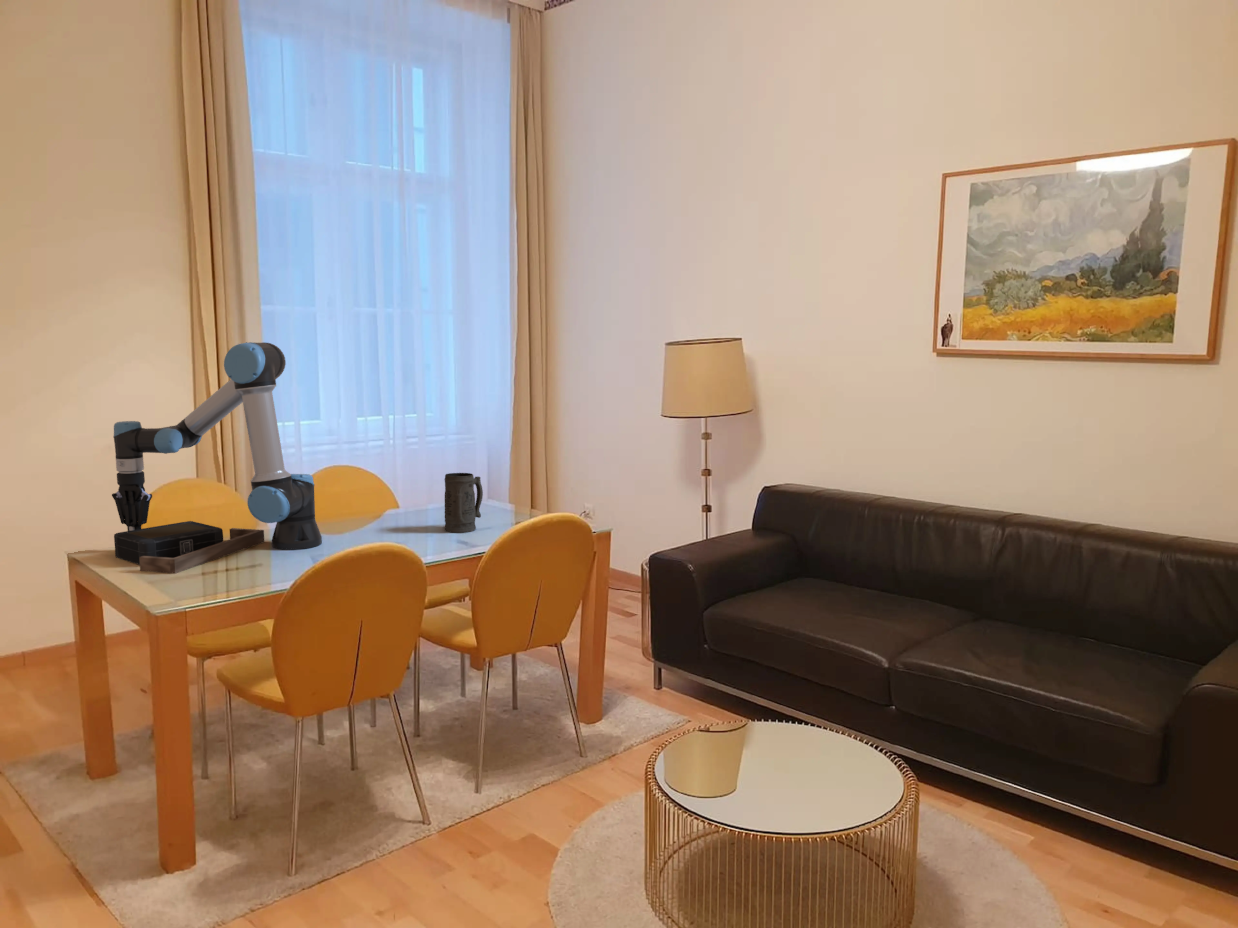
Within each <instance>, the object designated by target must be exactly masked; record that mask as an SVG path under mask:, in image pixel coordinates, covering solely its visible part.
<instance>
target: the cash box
mask: <svg viewBox="0 0 1238 928" xmlns="http://www.w3.org/2000/svg"><path fill="white" fill-rule="evenodd" d="M113 540H114V555H115V558H117V559H120V560H123V561H127V562H129V563H133V564H136V565H139V566H140V558H139V557H141V556H153V557H167V558H175V557H178V556H181V555H184V554H187V553H190V552H193V551H196V550H199V549H202V548H205V547H208V546H211V545H214V544H218V543H221V542H224V532H223V528H221V527H219V526H218V527H217V526H214V525H211V524H205V523H202V522H197V521H193V520H187V521H181V522H176V523H175V522H173V523H168V524H163V525H157V526H150V527H145V528H141V529H137V530H131V531H128V530H126V531H121V532H119V531H118V532H116V533H114V534H113Z"/></svg>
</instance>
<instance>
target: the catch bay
mask: <svg viewBox="0 0 1238 928" xmlns="http://www.w3.org/2000/svg"><path fill="white" fill-rule="evenodd" d="M262 543H263V544H264V543H265V529H255V528H254V529H252V528H238V527H237V528H236V527H232V528H229V539H227V540H223V542H221V543H218V544H214V545H211V546H208V547H205V548H202V549H199V550H196V551H193V552H190V553H187V554H184V555H181V556H178V557H175V558H167V557H153V556H141V557H139V558H140V565H139V569H140V571H141V572H152V573H165V574H166V573H167V574H177V573H182V572H184V571H186V570H190V569H191V568H195V567H198V566H200V565H205V563H209V562H212V561H215V560H217V559H220V558H223V557H225V556H228V555H232V554H235V553H237V552H240V551H243V550H247V549H248V548H252V547H254V546H257V545H260V544H262Z"/></svg>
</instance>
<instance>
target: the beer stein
mask: <svg viewBox="0 0 1238 928" xmlns="http://www.w3.org/2000/svg"><path fill="white" fill-rule="evenodd" d="M482 485H483V484H482V483H481V477H480V476H475V477H474V474H473V473H470V472H453V473H452V472H451V473H449V472H448V473H446V474H445V475H444V523H445V524H444V531H445V532H448V533H454V534H461V533H465V534H466V533H471V532H474V531H475V530H477V527H476V518H478V519H479V518H481V516H482V515H481V512H480V507H481V504H482V501H483V496H484V494H483V493H484V492H483V491H484V490H483V486H482ZM474 486H475V487H476V493H475V487H474Z"/></svg>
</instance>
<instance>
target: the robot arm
mask: <svg viewBox="0 0 1238 928" xmlns="http://www.w3.org/2000/svg"><path fill="white" fill-rule="evenodd" d="M286 365H287V363H286V357H285V354H284V352H283V351H282V350H281V349H280V347H278V346H277V345H275V344H273V343H270V342H253V341H252V342H251V341H250V342H243V343H242V342H241V343H237V344H236V345H234V346H232V347H231V348H230V349H229V350H227V352H226V353H225V356H224V359H223V368H224V371H225V374H226V376H227V377H228V378H230V379H229V380H228V381H227V382H226V383H225V384H223V385H222V386H221V387H220V388H219V389H218V390H216V391H215V392H214V393H212V395H211V396H210V397H207V399H206V400H204V401H203V402H202V403H201V404H199V406H197V407H196V408H195V409H194V410H193V411H191V412H190V413H189V414H188V415H186V417H184V418H183V419H182V420H181V421H180V422H178V423H177V424H175V425H169V426H163V427H159V428H158V427H157V428H152V427H151V428H150V427H149V428H147V427H146V428H144V427H142V424H141V422H140V421H138V420H137V421H136V420H124V421H117V422H115V423H114V424H113V442H114V451H115V469H116V471H117V473H116V483H117V485H118V486H119V487H118V489H117V490H118V491H116V492H115V493H113V492H112V493H111V497H112V498H113V500H114V502H115V506H116V510H117V512H118V517H119V520H120V523H121V524H122V525H123V524H124V525H126V529H127V531H131V530H137V529H142V526H143V525H145V524H147V523H148V515H149V510H150V503H151V500H152V498H153V494H152V493H147V492H146V489H145V486H144V484H145V481H146V480H145V472H144V469H145V466H144V465H145V464H144V463H145V462H144V454H145V453H146V454H147V453H152V454H154V453H155V454H166V455H167V454H176V453H177V452H179V451H180V450H181V449H188V448H191V447H193V446H197V445H198V444H199V443H200V442H201V439H202V437H203V435H205V434H207V432H209V430H211V429H212V428H213V427H215V426H216V425H217V424H219V422H221V421H222V420H223V419H224V418H225V417H227V416H228V415H229V414H231V413H232V412H233V411H234V410H235V409H236V408H238V407H239V406H240V405H241V404H243V405H242V406H243V411H244V415H245V422H246V428H247V435H248V440H249V446H250V451H251V452H250V453H251V459H252V465H253V469H254V474H253V475H254V476H252V478H251V479H250V484H251V492H250V494H249V495H248V497H247V506H248V507H247V508H248V510H249V512H250V514H251V515H252V516H253V518H255V519H257V520H258V521H259V522H262V523H265V524H274V523H276V524H275V528H274V530H273V535H272V538H271V546H272V548H274V549H278V550H303V549H311V548H314V547H317V546H320V545H322V543H323V540H322V537H323V536H322V534H321V531H320V528H319V526H318V524H317V521H316V509H315V508H316V507H315V506H316V505H315V503H316V502H315V483H314V477H313V476H312V474H307V473H290V472H289V471H287V470H286V469H285V468H286V467H285V461H284V456H283V451H282V444H281V439H280V438H281V437H280V433H279V426H278V419H277V414H276V408H275V401H274V395H273V391H274V389H275V388H276V387H277V381H276V380H277V379H278V378H279V377H280V376H282V374H283V372H284V371H285V368H286Z"/></svg>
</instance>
